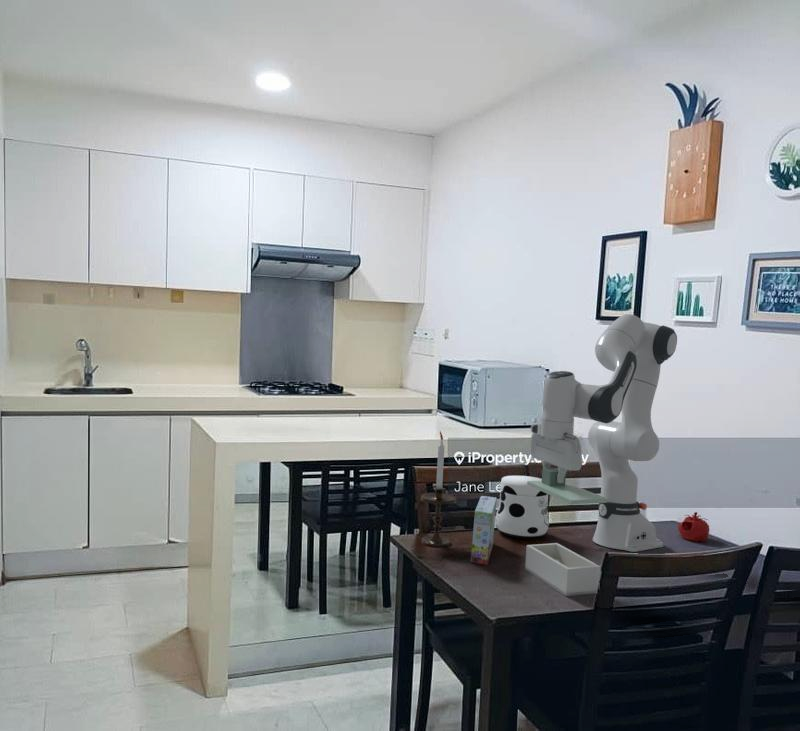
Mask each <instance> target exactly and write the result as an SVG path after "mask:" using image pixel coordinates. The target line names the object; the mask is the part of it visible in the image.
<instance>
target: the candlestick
mask: <svg viewBox="0 0 800 731" xmlns="http://www.w3.org/2000/svg"><path fill="white" fill-rule="evenodd" d="M439 437H440V443H439V444H438V447H437V462H436V463H437V464H436V465H437V467H436V486H435V487H434V486H433V487H432V489H433V490H435V492H426V493H422V494H420V500H421V501H422V502H424V503H427V504H433V505H434V506H435V516H433V517H432V521H433V522H434V525H433V526H432V528H433V529H434V533H433V535H425V536H423V537H422V538H421V544H422V545H425V546H427V547H432V548H445V547H446V546H447V547H449V546H451V544H452V543H451V542H452V539H450V538H448V537H447V536H443V535H441V534H440V529H441V528H442V526H441V525H440V523H441V522H442V520H443V518H442V517H441V506H442V505H443V506H444V505H452V504H455V503H457V497H456V496H455V495H453V494H450V493H445V492H443V491H444V490H446V488H445V487H443V481H444V480H443V479H444V463H445V462H444V459H445V445H444V443H443V440H444V436H443V434H442V432H441V430H439ZM447 547H446V548H447Z"/></svg>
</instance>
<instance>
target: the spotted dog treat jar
mask: <svg viewBox="0 0 800 731" xmlns="http://www.w3.org/2000/svg"><path fill="white" fill-rule="evenodd" d="M527 481H542V478H540V477H535V476H527V475H506V476H502V477H501V480H500V490H499V503H498V508H497V509H496V513H495V524H496V528H497V530H498V531H499V532H501V533H502V534H504V535H507V536H510V537H514V538H519V539H537V538H540V537H544V536H545V535H546V534H547V532H548V531H549V530H548V529H549V526H550V517H549V513H548V499H549V494H547V493H544V492H542V491H540V490H538V489H536V488H533V487H531V486H529V485H527Z"/></svg>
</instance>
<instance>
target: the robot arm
mask: <svg viewBox="0 0 800 731" xmlns="http://www.w3.org/2000/svg"><path fill="white" fill-rule="evenodd" d="M677 344H678V336H677V333H676V332H675V329H673V328H671V327H669V326H668V325H667V326H666V325H659V324H655V323H651V322H645V321H643V320H642V319H641V318H640V317H639V316H637V315H635V314H628V313H626V314H622V315H620V316H619V317H618V318H616V319H615V320H614V321H613V322H612V323H611V324H609V325H608V327H606V329H605V330H604V331H603V332H602V333H601V335H600V336H599V338H598V339H597V341H596V343H595V346H594V353H595V356H596V359H597V361H598V363H600V364H601V366H602V367H603V368H605V369H607V370H608V371H610V372H613V373H612V376H611V378H610V380H609V381H608V383H607V384H602V385H596V384H586V383H581V382H579V381H578V380H577V379H576V378H575V377H576V376H575V374H574V372H570V371H568V370H560V371H559V370H557V371H553V372H552V371H551V372H549V373H548V374H547V375H546V377H545V379H544V384H543V389H542V390H543V391H542V398H541V399H542V402H541V404H542V409H543V410H542V414H541V416H540V417H541V418H540V422H538V423H535V424H531V426H530V431H531V433H532V434H531V436H530V448H529V450H530V455H531V457H532V459H535V460H539V461H542V467H543V468H542V469H549V468H552V467H551V466H552V465H553V466H555V467H557V468H558V471H559V472H558V475H557V476H555V481H556V482H557V483H563V482H564V476H565V474H566V475H567V472H572V471H576V472H577V471H580V470H581V469H582V466H583V464H582V463H583V462H582V461H583V459H582V457H583V456H582V455H583V453H582V446H581V443H580V442H581V441H580V440H579V438H578V437H577V435H574V429H575V428H574V427H575V426H574V425H575V418H578V419H584V420H589V421H590V420H591V421H595V422H594V423H593V424H592V425H591V426H590V428H589V430H588V432H587V433H588V435H587V438H588V439H587V440H588V443H589V446H591V448H592V449H593V450H594V452H595V454H596V457H597V459H598V463H599V466H600V468H599V469H600V473H601V484H600V486H601V487H600V488H601V489H600V496H602V497H604V498H607V503H598V518H597V524H596V528H595V532H594V534H593V537H592V541H593V543H595V544H598V545H600V546H602V547H605V548H609V549H614V550H615V549H616V550H622V551H628V552H631V553H636V552H637V553H638V552H641V551H647V550H653V549H658V548H663V547H664V542H663V541H661V539H659V538H657V531H656V530H657V529H656V527H655V525H654V524H653V523H652V522H651V521H650V520H649V519H648V518H646V517H645V516H644V515H643V514H642V513H641V510H643V511H646V510H647V508H648V505H647V503H644V502H640V503H639V501H637V500H638V499H637V497H638V484H639V483H638V482H639V481H638V476H637V475H636V473H635V472H634V470H633V469H632V467H631V465H630V463H629V461H633V462H648V461H652V460H654V458H655V457H656V456H657V455H658V452H659V448H660V438H659V437H658V435H657V434H656V432H655V430H654V428H653V425H652V424H653V423H652V417H651V416H652V414H651V413H652V406H653V403H654V399H655V395H656V392H657V387H658V384H659V380H660V375H661V374H660V373H661V365H662V364H663V363H665V361H668V360H669V359H670V358H671V357H672V356H673V355H674V354H675V352H676V349H677ZM620 414H621V422H618V421H614V420H616V419H617V418H618V417H619V415H620Z"/></svg>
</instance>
